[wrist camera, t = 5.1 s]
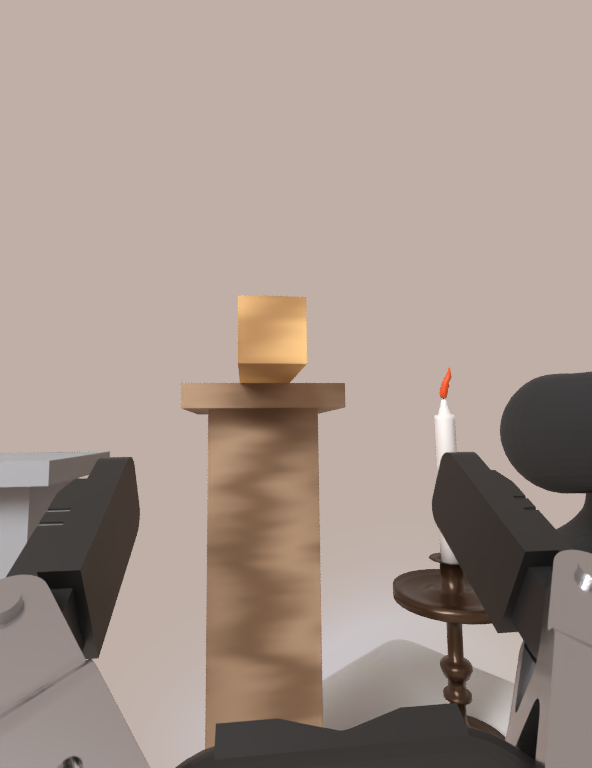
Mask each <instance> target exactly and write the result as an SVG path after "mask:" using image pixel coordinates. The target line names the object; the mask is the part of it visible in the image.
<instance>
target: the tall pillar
mask: <svg viewBox="0 0 592 768" xmlns="http://www.w3.org/2000/svg"><path fill="white" fill-rule="evenodd" d="M344 407H345V384H344V383H181V408H182V409H185V410H188V411H190V412H193V413H196V414H208V520H207V522H208V523H207V525H208V526H207V527H208V528H207V627H206V628H207V630H206V738H205V745H206V746H205V749H208V748H210V747H213V746H215V729H216V724H217V723H229V722H240V721H252V720H264V719H275V718H279V719H284V720H289V721H293V722H298V723H303V724H308V725H313V726H318V727H323V705H322V646H321V585H320V529H319V528H320V525H319V465H318V413H323V412H327V411H331V410H336V409H340V408H344Z"/></svg>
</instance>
